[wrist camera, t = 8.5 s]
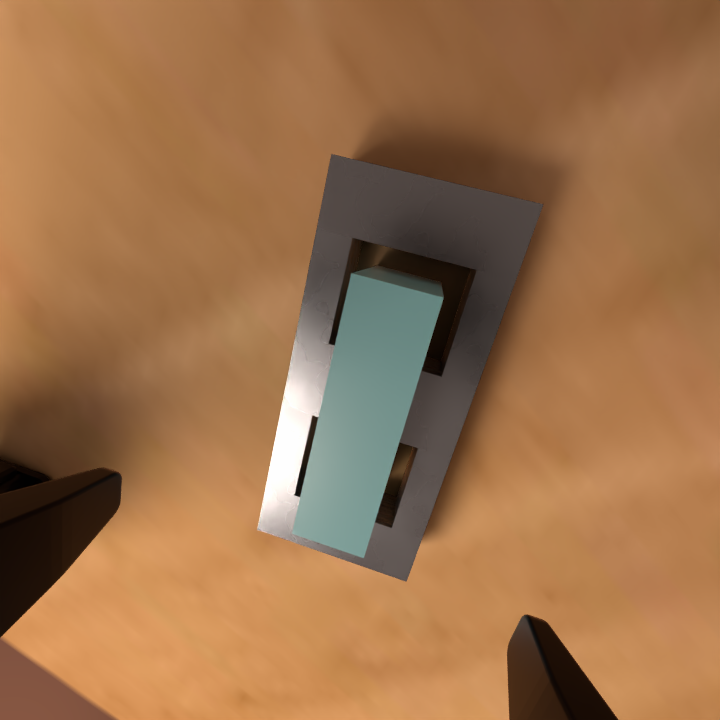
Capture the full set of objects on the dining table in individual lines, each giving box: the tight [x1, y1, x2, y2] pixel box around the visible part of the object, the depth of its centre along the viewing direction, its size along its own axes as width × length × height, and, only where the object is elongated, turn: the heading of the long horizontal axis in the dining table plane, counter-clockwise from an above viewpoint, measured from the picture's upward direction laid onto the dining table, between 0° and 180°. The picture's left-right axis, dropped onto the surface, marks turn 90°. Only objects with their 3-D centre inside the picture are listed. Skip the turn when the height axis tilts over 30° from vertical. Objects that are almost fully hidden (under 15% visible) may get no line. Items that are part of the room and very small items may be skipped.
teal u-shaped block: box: [292, 265, 444, 558], centre depth 17 cm, size 10×3×6 cm, turn 166°
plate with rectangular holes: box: [257, 154, 543, 581], centre depth 18 cm, size 18×8×2 cm, turn 166°
